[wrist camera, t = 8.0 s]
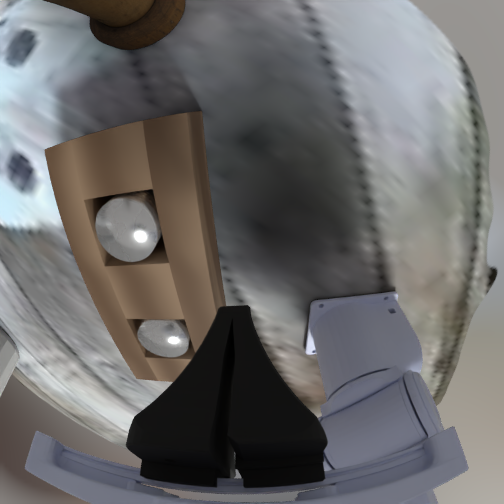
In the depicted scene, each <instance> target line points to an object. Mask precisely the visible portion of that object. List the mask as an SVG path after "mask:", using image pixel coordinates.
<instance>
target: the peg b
mask: <svg viewBox="0 0 504 504" xmlns="http://www.w3.org/2000/svg"><path fill="white" fill-rule="evenodd" d="M138 339H139V341H140V343H141V344H142V345H143V346H144V347H145V348H146V349H147V350H148V351H150V352H152V353H154V354H156V355H159V356H163V357H178V356H181V355H183V354H184V353H185V352H186V351H187V349H188V345H189V340H190V335H189V332H188V329H187V326H186V322H185V319H142V322H141V325H140V327H139V330H138Z"/></svg>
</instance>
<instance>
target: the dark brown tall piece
mask: <svg viewBox="0 0 504 504" xmlns="http://www.w3.org/2000/svg"><path fill="white" fill-rule="evenodd" d="M44 1H47V2H51V3H54V4H57V5H61V6H63V7H66V8H69V9H72V10H74V11H77V12H79V13H82V14H84V15H87V16H89V17H90V29H91V31H92V33H93V35H94V36H95V37H96V38H97V39H98V40H99V41H101V42H102V43H104V44H107V45H110V46H112V47H115V48H118V49H123V50H134V49H139V48H143V47H146V46H149V45H151V44H153V43H155V42H157V41H159V40H160V39H162V38H163V37H165V36H166V35H167V34H168V33H170V32H171V31H172V30H173V29H174V27H175V26H176V25H177V24H178V22H179V21H180V19H181V17H182V15H183V12H184V9H185V0H44Z"/></svg>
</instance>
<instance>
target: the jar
mask: <svg viewBox="0 0 504 504" xmlns="http://www.w3.org/2000/svg"><path fill="white" fill-rule="evenodd" d="M19 358H20V357H19V351H18V349H17V347H16V344H15V343H14V342H13V341H12V339H11V338H10V337H9V336H8V335H7V334H6V333H5V332H4V331H3V330H2V329H1V328H0V396H1V394H2V392H3V390H4V388H5V386H6V384H7V382H8V380H9V378H10V376H11V374H12V372H13V370H14V368H15V366H16V364H17V363H18V361H19Z"/></svg>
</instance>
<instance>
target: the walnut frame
mask: <svg viewBox="0 0 504 504" xmlns="http://www.w3.org/2000/svg"><path fill="white" fill-rule="evenodd" d="M45 156H46V161H47V166H48V170H49V175H50V179H51V183H52V187H53V191H54V195H55V199H56V203H57V206H58V210H59V213H60V216H61V220H62V223H63V226H64V229H65V232H66V235H67V238H68V241H69V243H70V246H71V249H72V252H73V254H74V257H75V260H76V262H77V265H78V267H79V270H80V272H81V274H82V277H83V279H84V282H85V284H86V286H87V288H88V291H89V293H90V295H91V297H92V299H93V301H94V304H95V306H96V308H97V310H98V312H99V314H100V316H101V318H102V320H103V322H104V324H105V326H106V327H107V329H108V331H109V333H110V335H111V337H112V339H113V340H114V342H115V344H116V346H117V347H118V349H119V351H120V353H121V354H122V356H123V358H124V359H125V361H126V363H127V364H128V366H129V367H130V369H131V371H132V372H133V374H134V375H135V377H136V378H137V379H144V380H155V381H169V382H174V381H175V379H176V378H177V377H178V376H179V375H180V374H181V372H182V371H183V370H184V369H185V367H186V366H187V365H188V363H189V362H190V361H191V359H192V358H193V356H194V355H195V353H196V351H197V350H198V348H199V347H200V345H201V344H202V342H203V340H204V338H205V336H206V334H207V333H208V331H209V329H210V327H211V325H212V323H213V321H214V318H215V316H216V314H217V311H218V308H219V307H221V306H226V302H225V296H224V289H223V283H222V276H221V269H220V262H219V255H218V248H217V240H216V233H215V225H214V217H213V210H212V201H211V193H210V185H209V176H208V167H207V157H206V148H205V138H204V127H203V117H202V111H197V112H188V113H181V114H175V115H169V116H163V117H158V118H153V119H148V120H143V121H138V122H134V123H129V124H125V125H121V126H117V127H113V128H109V129H106V130H102V131H98V132H95V133H92V134H88V135H85V136H82V137H79V138H76V139H73V140H70V141H67V142H64V143H61V144H58V145H55V146H53V147H50V148H47V149H45ZM148 189H153V192H154V197H155V202H156V207H157V212H158V217H159V222H160V227H161V231H162V236H161V237H160V239H159V241H158V243H157V244H156V246H155V248H154V250H153V251H152V253H151V254H150V255H149V256H148V257H146V258H145V259H143V260H140V261H136V262H127V261H123V260H120V259H117V258H115V257H114V256H112V255H111V254H110V253H108V252H107V251H106V250H105V249H104V247H103V246H102V245H101V243H100V241H99V239H98V237H97V233H96V228H95V223H96V217H97V214H98V212H99V210H100V209H101V208H102V206H104V205H105V204H106V203H107V202H108V201H109V200H111V199H112V198H113V197H114V196H115V195H117V194H121V193H127V192H134V191H141V190H148ZM142 319H185V322H186V326H187V329H188V332H189V335H190V340H189V345H188V349H187V351H186V352H185V353H184V354H183V355H181V356H178V357H163V356H159V355H156V354H154V353H152V352H150V351H148V350H147V349H146V348H145V347H144V346H143V345H142V344H141V343H140V341H139V339H138V330H139V327H140V325H141V322H142Z"/></svg>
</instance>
